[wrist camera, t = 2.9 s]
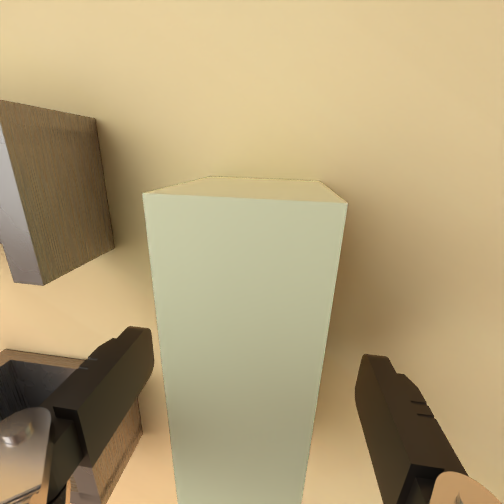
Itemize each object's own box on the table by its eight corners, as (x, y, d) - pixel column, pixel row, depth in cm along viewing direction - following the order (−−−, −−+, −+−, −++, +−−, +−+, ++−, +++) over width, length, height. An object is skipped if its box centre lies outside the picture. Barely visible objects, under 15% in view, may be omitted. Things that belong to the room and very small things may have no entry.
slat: (211, 175, 10) (142, 193, 5) (318, 180, 9) (348, 202, 5) (216, 414, 14) (182, 540, 10) (290, 425, 14) (292, 562, 9)
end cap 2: (142, 434, 15) (102, 509, 12) (28, 415, 16) (-38, 481, 13) (132, 366, 13) (82, 434, 10) (4, 349, 14) (-80, 406, 11)
